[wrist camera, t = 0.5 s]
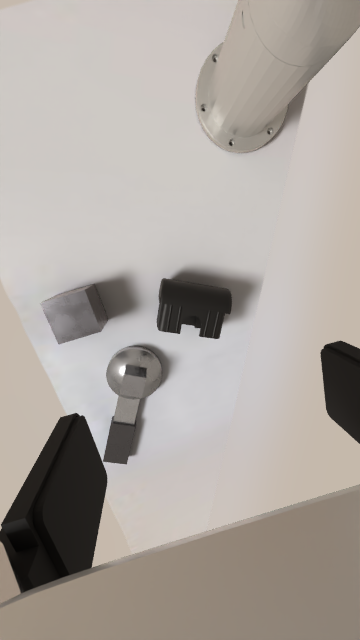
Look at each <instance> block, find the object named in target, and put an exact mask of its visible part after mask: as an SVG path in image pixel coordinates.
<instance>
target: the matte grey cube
mask: <svg viewBox="0 0 360 640" xmlns="http://www.w3.org/2000/svg"><path fill="white" fill-rule="evenodd" d="M40 304H41V306H42V309H43V311H44V313H45V315H46V317H47V320H48V322H49V324H50V326H51V328H52V331H53V333H54V335H55V337H56V339H57V342H58V344H62V343H65V342H68V341H71V340H75V339H78V338H81V337H85V336H88V335H91V334H95V333H98V332H101V331H102V329H103V328H104V326H105V324H106V323H107V321H108V318H107V315H106V313H105V310H104V308H103V305H102V302H101V300H100V297H99V295H98V292H97V289H96V287H95V284H92V285H89V286H85V287H82V288H79V289H75V290H72V291H69V292H65V293H62V294H59V295H56V296H54V297H52V298H50V299H48V300H45V301H43V302H41V303H40Z"/></svg>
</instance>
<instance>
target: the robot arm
mask: <svg viewBox="0 0 360 640" xmlns="http://www.w3.org/2000/svg"><path fill="white" fill-rule="evenodd" d="M359 26H360V0H238V3H237V6H236V9H235V12H234V15H233V17H232V20H231V23H230V26H229V29H228V32H227V35H226V38H225V40H224V42H223V43H221V44H220V45H219V46H218V47H216V48H215V49H214V50H213V51H212V52H211V54H210V55H209V56H208V58H207V59H206V61H205V63H204V65H203V67H202V69H201V72H200V75H199V78H198V82H197V87H196V98H195V100H196V110H197V114H198V118H199V121H200V123H201V125H202V128H203V130H204V131H205V133H206V134H207V136H208V137H209V138H210V139H211V140H212V141H213V142H214V143H215V144H216V145H218V146H219V147H221V148H222V149H225V150H227V151H230V152H235V153H247V152H250V151H254V150H256V149H258V148H260V147H262V146H263V145H265V144H266V143H267V142H268V141H269V140H270V139H271V138H273V137H274V135H275V134H276V133H277V131H278V130H279V129H280V127H281V125H282V123H283V121H284V119H285V117H286V113H287V110H288V105H289V102H290V101H291V100H292V99H293V98H294V97H295V96H296V95H297V94H298V93H299V92H300V91H301V90H302V89H303V88H304V87H305V86H306V84H307V83H308V82H309V81H310V80H311V79H312V78H313V77H314V76H315V75H316V74H317V73H318V72H319V71H320V70H321V69H322V68H323V66H324V65H325V64H326V63H327V62H328V61H329V60H330V59H331V58H332V57H333V56H334V55H335V54H336V53H337V52H338V50H339V49H340V48H341V47H342V46H343V45H344V44H345V43H346V41H348V40H349V38H350V37H351V36H352V35H353V34H354V33H355V32H356V30H357V29H358V28H359ZM213 61H215V62H213ZM202 109H203V110H204V111H205V112H203V111H202ZM267 132H268V133H269V134H268V133H267ZM229 143H231V144H232V146H230V145H229ZM321 362H322V372H323V381H324V392H325V401H326V410H327V413H328V415H329V416H330V417H331V418H332V419H333V420H334V421H335V422H336V423H337V424H338V425H339V426H341V427H342V428H343V429H344V430H345V431H346V432H347V433H348V434H349V435H350V436H352V437H353V438H354V439H355V440H356V441H357V442H358V443H359V444H360V349H359V348H357V347H354V346H352V345H350V344H347V343H345V342H343V341H337V342H334V343H330V344H327V345H325V346H324V349H322V350H321ZM106 487H107V473H106V470H105V468H104V465H103V463H102V460H101V457H100V455H99V452H98V450H97V447H96V445H95V442H94V439H93V437H92V434H91V432H90V429H89V426H88V424H87V421H86V419H85V417H84V416H83V415H82V416H80V415H79V414H78V413H75V414H71V415H67V416H64V417H61V418H60V419H59V421H58V423H57V424H56V426H55V428H54V430H53V432H52V433H51V435H50V437H49V439H48V441H47V442H46V444H45V446H44V448H43V450H42V451H41V453H40V455H39V457H38V459H37V461H36V463H35V464H34V466H33V468H32V470H31V471H30V473H29V475H28V477H27V479H26V480H25V482H24V484H23V486H22V488H21V490H20V491H19V493H18V495H17V497H16V499H15V500H14V502H13V504H12V506H11V508H10V510H9V511H8V513H7V515H6V517H5V519H4V520H3V522H2V524H1V526H2V529H1V531H0V640H360V485H357V486H353V487H350V488H347V489H343V490H340V491H336V492H333V493H330V494H326V495H323V496H320V497H317V498H314V499H310V500H307V501H304V502H300V503H297V504H294V505H290V506H287V507H284V508H281V509H278V510H274V511H271V512H267V513H264V514H261V515H258V516H255V517H251V518H248V519H245V520H241V521H238V522H235V523H232V524H228V525H225V526H222V527H219V528H216V529H212V530H209V531H206V532H203V533H199V534H196V535H193V536H190V537H187V538H183V539H180V540H177V541H174V542H171V543H167V544H164V545H161V546H158V547H155V548H151V549H148V550H145V551H142V552H139V553H135V554H132V555H129V556H126V557H123V558H120V559H117V560H114V561H111V562H108V563H105V564H102V565H99V566H96V567H93V568H91V567H92V561H93V557H94V551H95V546H96V540H97V535H98V529H99V524H100V519H101V514H102V508H103V503H104V498H105V492H106Z"/></svg>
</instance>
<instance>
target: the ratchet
mask: <svg viewBox="0 0 360 640" xmlns="http://www.w3.org/2000/svg"><path fill="white" fill-rule="evenodd" d="M106 377H107V382H108V384H109V386H110V388H111V389H112V390H113V391H114V392H115V393H116V394H117V395H119V397H118V402H117V406H116V411H115V416H114V417H112V422H111V426H110V431H109V436H108V440H107V445H106V450H105V455H104V459H103V462H111V463H120V464H127V461H128V456H129V452H130V448H131V444H132V440H133V435H134V431H135V427H136V420H135V418H136V414H137V410H138V406H139V401H140V399H142V398H145V397H147V396H149V395H151V394H152V393H153V392H154V391H155V390H156V389H157V388H158V386H159V385H160V382H161V379H162V368H161V363H160V361H159V359H158V357H157V356H156V355H155V354H154V353H153V352H152V351H150V350H149V349H147V348H144V347H140V346H130V347H126V348H123V349H121V350H119V351H118V352H117V353H116V354H115V355H114V356H113V357H112V358H111V360H110V362H109V365H108V368H107V373H106Z"/></svg>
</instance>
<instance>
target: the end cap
mask: <svg viewBox="0 0 360 640" xmlns="http://www.w3.org/2000/svg"><path fill="white" fill-rule="evenodd" d="M159 303H160V304H159V310H158V317H157V327H158V330H159V331H163V332H170V333H177V334H180V331H181V325H182V324H186V325H193V326H195V328H201V329H200V334H199V336H200V337H207V338H214V339H219V337H220V333H221V328H222V324H223V319H224V315H225V313H226V314H230V312H231V306H232V297H231V293H230V291H229V290H228V289H225V288H219V287H213V286H207V285H201V284H195V283H189V282H183V281H177V280H171V279H165V278H163V279H162V281H161V285H160V290H159Z"/></svg>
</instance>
